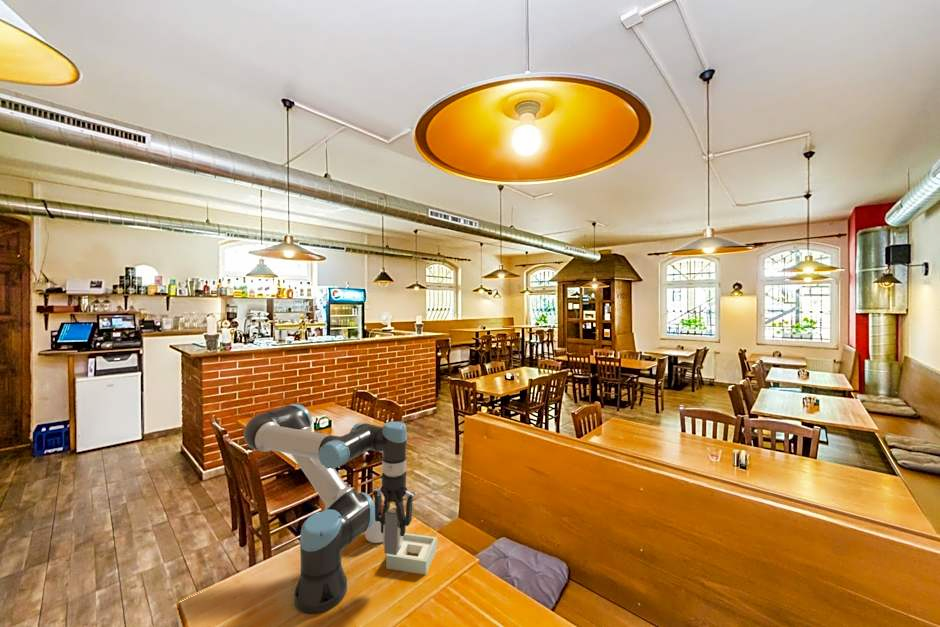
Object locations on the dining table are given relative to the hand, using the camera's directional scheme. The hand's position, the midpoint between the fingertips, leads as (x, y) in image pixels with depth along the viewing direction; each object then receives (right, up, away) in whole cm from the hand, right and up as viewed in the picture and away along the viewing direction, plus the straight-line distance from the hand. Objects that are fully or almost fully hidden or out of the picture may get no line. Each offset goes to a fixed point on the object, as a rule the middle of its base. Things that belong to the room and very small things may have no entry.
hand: (392, 543), depth 121 cm
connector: (0, -2, 0) cm, 2 cm away
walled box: (+5, -12, +12) cm, 18 cm away
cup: (-10, -12, +24) cm, 29 cm away
